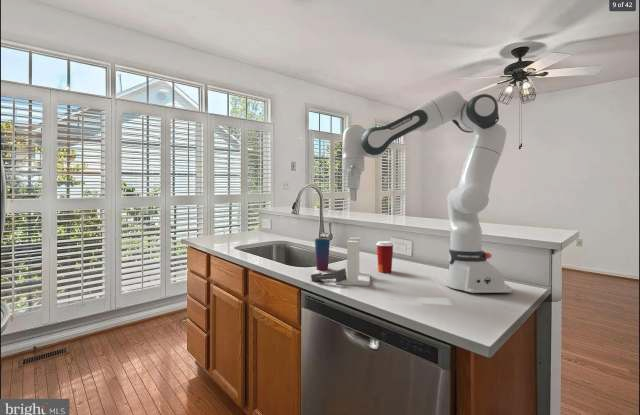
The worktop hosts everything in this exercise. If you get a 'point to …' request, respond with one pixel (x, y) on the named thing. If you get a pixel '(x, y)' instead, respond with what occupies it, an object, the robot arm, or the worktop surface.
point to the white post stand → (354, 266)
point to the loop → (330, 276)
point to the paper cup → (384, 256)
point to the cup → (322, 253)
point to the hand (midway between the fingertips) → (353, 200)
